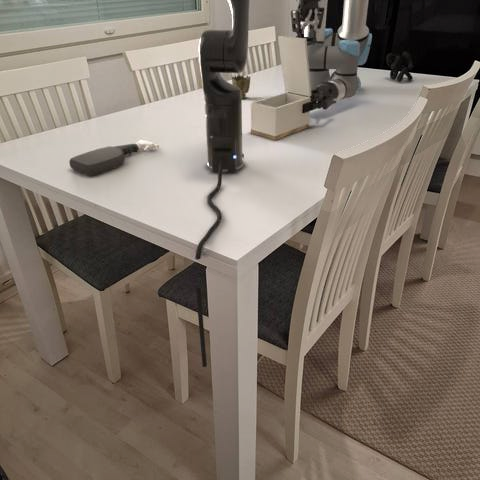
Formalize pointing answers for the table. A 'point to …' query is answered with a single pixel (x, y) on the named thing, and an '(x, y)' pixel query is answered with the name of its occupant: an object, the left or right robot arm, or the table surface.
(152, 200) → the table surface
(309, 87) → the lid
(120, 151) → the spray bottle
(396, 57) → the squiggle
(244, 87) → the mottled brown jagged dome
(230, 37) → the left robot arm
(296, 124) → the cream rectangular box
